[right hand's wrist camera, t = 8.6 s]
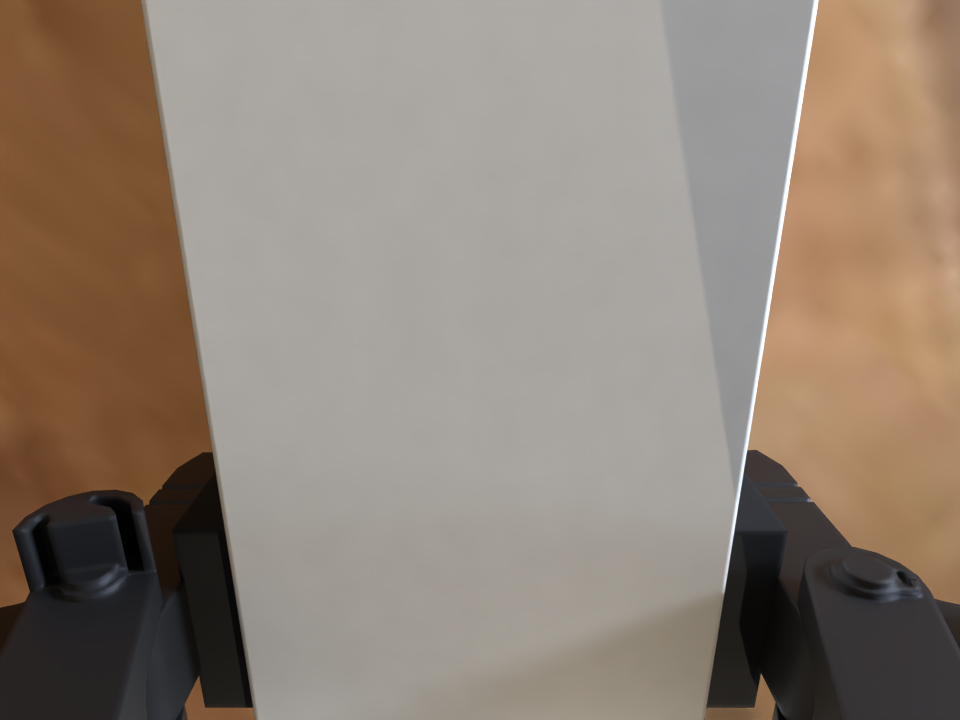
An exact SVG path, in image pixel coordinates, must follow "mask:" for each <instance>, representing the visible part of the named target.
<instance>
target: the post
mask: <svg viewBox="0 0 960 720" xmlns="http://www.w3.org/2000/svg"><path fill="white" fill-rule="evenodd" d="M141 5H142V11H143V17H144V24H145V30H146V36H147V43H148V49H149V55H150V61H151V68H152V74H153V80H154V87H155V93H156V99H157V105H158V112H159V118H160V124H161V131H162V137H163V143H164V150H165V156H166V162H167V168H168V175H169V181H170V187H171V194H172V200H173V206H174V212H175V219H176V225H177V231H178V238H179V244H180V250H181V256H182V263H183V269H184V275H185V282H186V288H187V294H188V301H189V307H190V313H191V319H192V326H193V332H194V338H195V345H196V351H197V357H198V363H199V370H200V376H201V382H202V389H203V395H204V401H205V407H206V414H207V420H208V426H209V433H210V439H211V445H212V452H213V458H214V464H215V470H216V477H217V483H218V489H219V496H220V502H221V508H222V514H223V521H224V527H225V533H226V540H227V546H228V552H229V558H230V565H231V571H232V577H233V584H234V590H235V596H236V603H237V609H238V615H239V621H240V628H241V634H242V640H243V647H244V653H245V659H246V665H247V672H248V678H249V684H250V691H251V697H252V703H253V709H254V716H255V720H704V719H705V712H706V706H707V700H708V694H709V687H710V681H711V675H712V668H713V662H714V656H715V649H716V643H717V637H718V630H719V624H720V618H721V612H722V605H723V599H724V593H725V586H726V580H727V574H728V567H729V561H730V555H731V548H732V542H733V536H734V529H735V523H736V517H737V511H738V504H739V498H740V492H741V485H742V479H743V473H744V466H745V460H746V454H747V447H748V441H749V435H750V429H751V422H752V416H753V410H754V403H755V397H756V391H757V384H758V378H759V372H760V365H761V359H762V353H763V347H764V340H765V334H766V328H767V321H768V315H769V309H770V302H771V296H772V290H773V283H774V277H775V271H776V265H777V258H778V252H779V246H780V239H781V233H782V227H783V220H784V214H785V208H786V201H787V195H788V189H789V183H790V176H791V170H792V164H793V157H794V151H795V145H796V138H797V132H798V126H799V119H800V113H801V107H802V101H803V94H804V88H805V82H806V75H807V69H808V63H809V56H810V50H811V44H812V37H813V31H814V25H815V19H816V12H817V6H818V0H141Z"/></svg>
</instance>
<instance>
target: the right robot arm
mask: <svg viewBox="0 0 960 720" xmlns="http://www.w3.org/2000/svg"><path fill="white" fill-rule="evenodd" d="M12 531H13V535H14V538H15V542H16V545H17V548H18V552H19V555H20V559H21V562H22V566H23V569H24V572H25V576H26V579H27V583H28V586H29V590H30V593H29V595H28V597H27V599H26V601H25V602H23V603H20V604H16V605H12V606H7V607H2V608H0V720H188V719H187V714H186V709H185V702H186V700H187V698H188V696H189V694H190V692H191V690H192V688H193V686H194V684H195V682H196V680H197V678H198V676H199V677H200V682H201V688H202V693H203V698H204V703H205V708H253V703H252V697H251V691H250V684H249V678H248V672H247V665H246V659H245V653H244V647H243V640H242V634H241V628H240V621H239V615H238V609H237V603H236V596H235V590H234V584H233V577H232V571H231V565H230V558H229V552H228V546H227V540H226V533H225V527H224V521H223V514H222V508H221V502H220V496H219V489H218V483H217V477H216V470H215V464H214V458H213V452H203V453H201V454H200V455H198V456H196V457H195V458H193V459H191V460H190V461H188V462H186V463H185V464H183V465H182V466H180V467H178V468H177V469H176V470H175V472H174V473H173V474H172V475H171V476H170V477H169V479H168V480H167V481H166V482H165V483H164V484H163V486H162V489H159V490H158V492H157V493H156V494H155V495H154V496H153V497H152V499H151V500H150V503H149V505H146V506H145V507H144V506H143V501H142V500H141V499H140V498H138V497H137V496H136V495H134V494H133V493H129V492H124V491H119V490H100V491H90V492H86V493H81V494H77V495H72V496H68V497H66V498H63V499H60V500H58V501H55V502H53V503H50V504H47V505H45V506H43V507H42V508H40V509H38V510H37V511H35V512H33V513H32V514H30V515H28V516H27V517H25V518H24V519H23V520H22V521H21V522H20V523H19V524H18V525H17V526H16V527H15V528H14V529H13V530H12ZM761 673H762V675H763V677H764V679H765V681H766V683H767V685H768V687H769V689H770V691H771V693H772V695H773V697H774V699H775V701H776V704H775V709H774V714H773V719H772V720H960V605H958V604H954V603H949V602H944V601H940V600H937V599H934V598H933V596H932V594H931V592H930V590H929V589H928V588H927V586H926V585H925V584H924V583H923V581H922V580H921V579H920V578H919V576H917V575H916V574H914V573H913V572H912V571H910V570H909V569H907V568H906V567H905V566H903V565H902V564H900V563H898V562H896V561H894V560H892V559H890V558H887V557H885V556H883V555H881V554H878V553H876V552H872V551H868V550H864V549H860V548H856V547H852V546H851V545H850V544H849V543H848V542H847V540H846V539H845V538H844V537H843V536H842V535H841V533H840V532H839V531H838V530H837V529H836V528H835V526H834V525H833V524H832V523H831V522H830V521H829V519H828V518H827V517H826V516H825V515H824V514H823V512H822V511H821V510H820V509H819V508H818V507H817V505H816V504H815V503H814V502H811V501H810V497H809V496H808V495H807V494H806V493H805V491H804V490H803V489H802V488H801V487H798V483H797V482H796V481H795V480H794V479H793V477H792V476H791V475H790V474H789V473H788V472H787V470H786V469H785V468H784V467H783V466H782V465H781V464H779V463H777V462H776V461H774V460H772V459H771V458H769V457H767V456H766V455H764V454H762V453H761V452H759V451H757V450H747V454H746V460H745V466H744V473H743V479H742V485H741V492H740V498H739V504H738V511H737V517H736V523H735V529H734V536H733V542H732V548H731V555H730V561H729V567H728V574H727V580H726V586H725V593H724V599H723V605H722V612H721V618H720V624H719V630H718V637H717V643H716V649H715V656H714V662H713V668H712V675H711V681H710V687H709V694H708V700H707V706H706V708H754V706H755V701H756V696H757V691H758V685H759V680H760V675H761Z"/></svg>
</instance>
